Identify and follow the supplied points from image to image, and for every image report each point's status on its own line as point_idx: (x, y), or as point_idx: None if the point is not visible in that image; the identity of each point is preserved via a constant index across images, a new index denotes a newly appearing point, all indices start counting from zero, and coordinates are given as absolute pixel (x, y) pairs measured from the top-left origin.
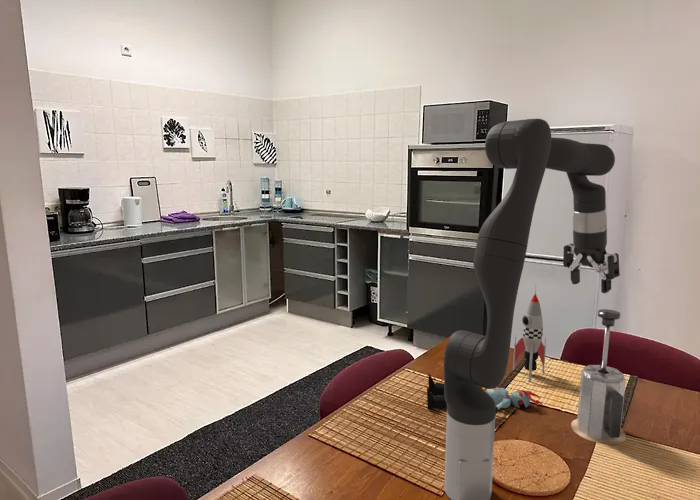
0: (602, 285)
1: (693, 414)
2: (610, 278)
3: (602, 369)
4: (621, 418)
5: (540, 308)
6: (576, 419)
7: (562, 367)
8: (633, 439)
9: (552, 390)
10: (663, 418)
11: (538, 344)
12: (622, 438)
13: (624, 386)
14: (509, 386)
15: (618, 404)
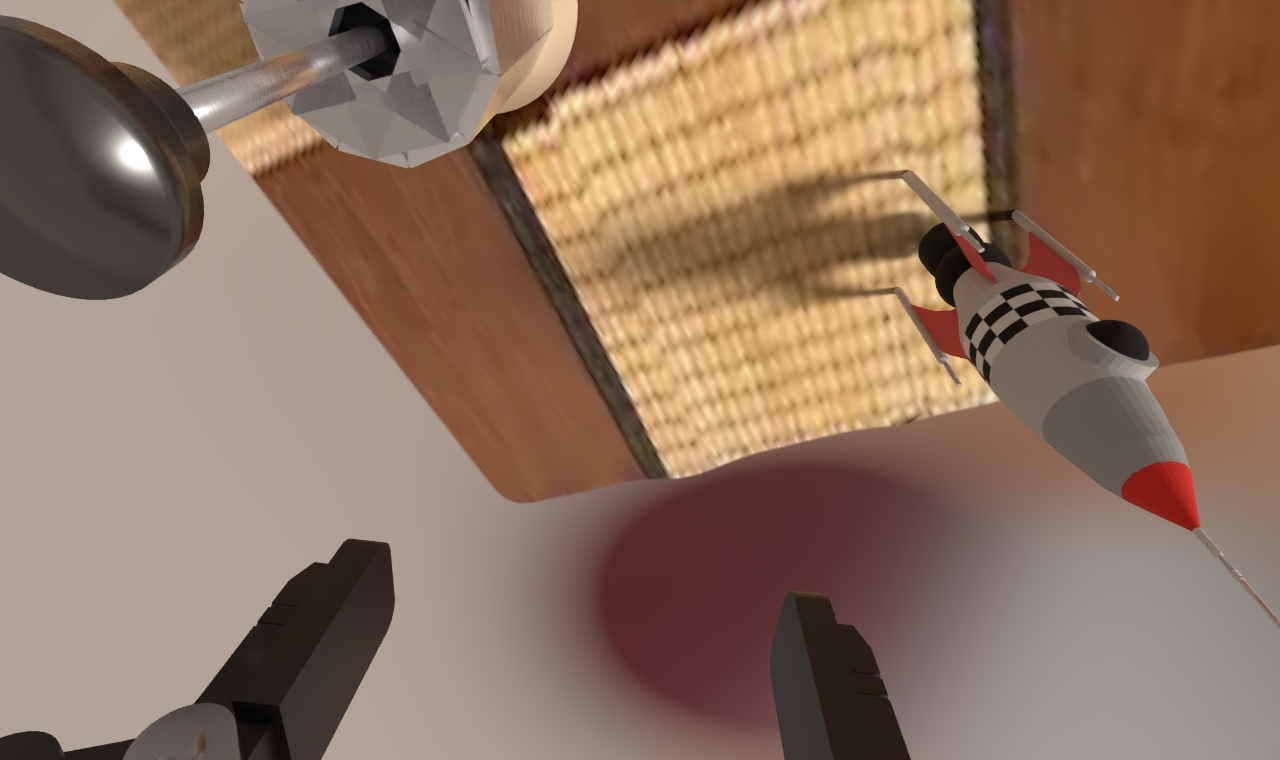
0: (314, 618)
1: (423, 395)
2: (32, 747)
3: (354, 30)
4: None
5: (1076, 460)
6: (572, 4)
7: (859, 383)
8: None
9: (792, 181)
10: (443, 307)
11: (961, 309)
12: None
13: None
14: (962, 41)
15: None
